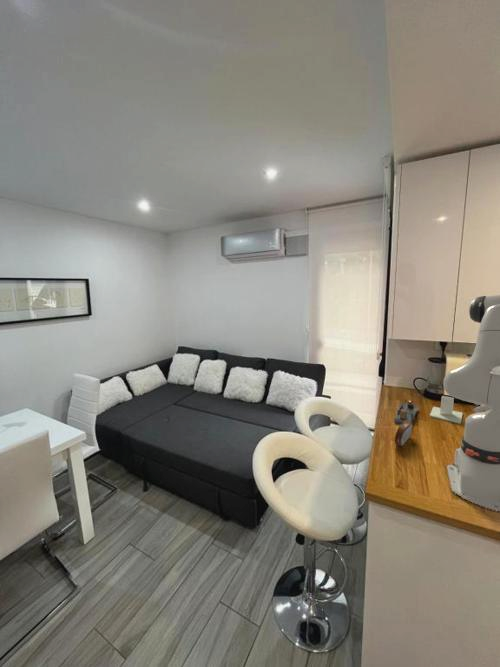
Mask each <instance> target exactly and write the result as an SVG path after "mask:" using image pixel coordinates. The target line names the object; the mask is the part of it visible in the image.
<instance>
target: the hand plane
mask: <svg viewBox="0 0 500 667" xmlns="http://www.w3.org/2000/svg"><path fill="white" fill-rule="evenodd" d="M414 404H415V401H414V400H413V399H412V400H411V399H407V401H406V402H404V403H401V404H400V405H399V407H398V408H397V411H396V412H397V413H396V415H395V417H394V420H393V423H395V424H398V425H401V424H402V423H403V422H404V421H405V420H407V421H409V422H411V423H412V424H413V421H414V419H415V418H416V415H417V414H418V411H419V406H418V405H414Z"/></svg>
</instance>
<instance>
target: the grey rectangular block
mask: <svg viewBox="0 0 500 667" xmlns="http://www.w3.org/2000/svg"><path fill="white" fill-rule="evenodd" d="M440 398H441V399H440V407H439V408H440V414H442V415H446V416H450V417H452V413H453V411H454V399H455V397H453V396H445V395H442V396H441V397H440Z"/></svg>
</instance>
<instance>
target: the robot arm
mask: <svg viewBox="0 0 500 667" xmlns="http://www.w3.org/2000/svg"><path fill="white" fill-rule="evenodd" d="M468 314H469V317H470V320H472V321H473V322H475V323H479V327H478V334H477V339H476V344H475V347H474V350H473V352H472V354H471V356H470V358H469V359H467V361H466V362H465V363H464V364H462V365H460V366H458V367H457V368H455V369H451V370H450V371H449V372H447V373H446V374H445V376H444V378H443V388H444V390H445V392H446V394H447V395H448V396H449V397H452V398H454V399H458V400H461V401H462V402H463V401H464V402H468V403H473V404H474V405H475V406H476V407H474V408H473V411H474V413H472V414H469V415H468V416H467V417H466V418H465V422H464V431H463V436H461V441H460V443H461V445H460V447H459V448H456V449H455V454H454V462H453V463H452V464H448V465H447V466H446V470H447V475H448V479H449V483H450V487H451V488H452V489H451V488H450V489H451V492H452V491H453V492H454V493H455V494H454V493H453V492H452V493H453V494H454V495H456V494H457V495H459V496H461V497H463V498H465V499H467V500H469V501H472V502H473V503H476V504H478V505H480V506H479V507H481V506H484V507H486V508H485V509H487V508H489V509H488V510H490V509H493V510H497V511H500V294H499V295H490V296H486V295H483V296H478V297H475V298H473V299H472V300H471V303H470V304H469V307H468ZM491 372H492V373H491ZM479 405H480V406H479ZM457 495H456V496H457ZM463 495H464V496H463ZM459 496H458V497H459ZM461 497H460V498H461ZM469 501H468V502H469ZM473 503H472V504H473ZM476 504H475V505H476ZM478 505H477V506H478ZM484 507H483V508H484ZM493 510H492V511H493ZM497 511H496V512H497Z"/></svg>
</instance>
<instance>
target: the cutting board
mask: <svg viewBox="0 0 500 667" xmlns="http://www.w3.org/2000/svg"><path fill="white" fill-rule="evenodd" d="M440 408H441V407H437V406H432V409H431V411H430V413H429V417H430V418H434V419H438V420H443V421H447V422H452V423H455V424H459V425H461V424H462V420H463V414H464V413H463V412H461V411H457V410H453V413H452V417H450V416H446V415H442V414H440Z"/></svg>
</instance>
